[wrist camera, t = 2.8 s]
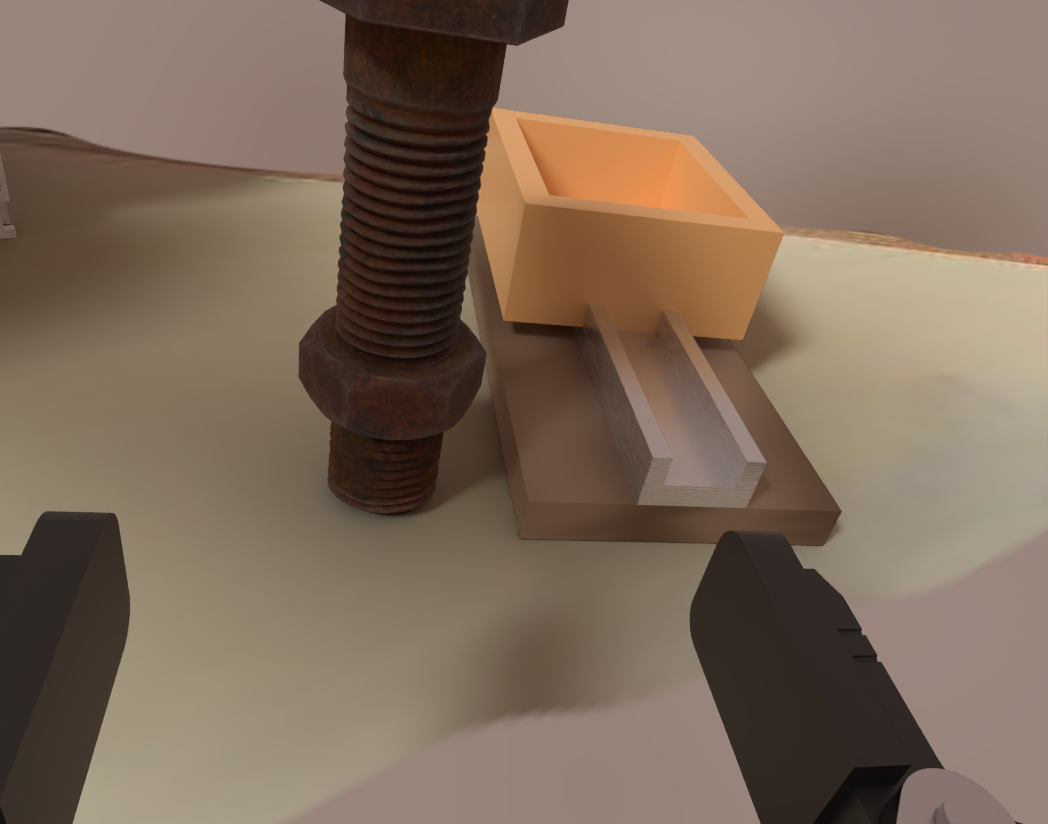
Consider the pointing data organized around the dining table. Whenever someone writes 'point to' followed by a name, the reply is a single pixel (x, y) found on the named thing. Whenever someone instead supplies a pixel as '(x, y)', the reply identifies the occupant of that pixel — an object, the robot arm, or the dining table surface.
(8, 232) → the circuit breaker
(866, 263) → the dining table surface
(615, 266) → the orange open box
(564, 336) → the rail board
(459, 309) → the bolt
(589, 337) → the rail
